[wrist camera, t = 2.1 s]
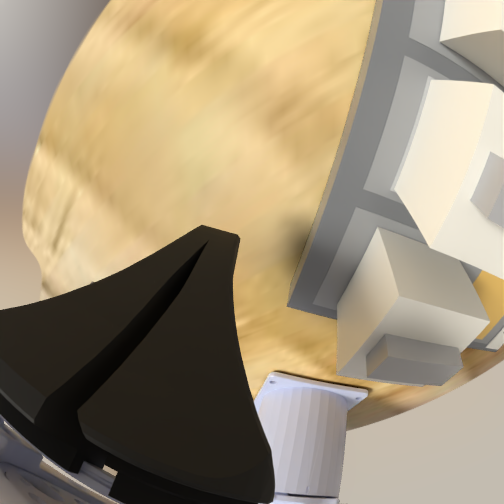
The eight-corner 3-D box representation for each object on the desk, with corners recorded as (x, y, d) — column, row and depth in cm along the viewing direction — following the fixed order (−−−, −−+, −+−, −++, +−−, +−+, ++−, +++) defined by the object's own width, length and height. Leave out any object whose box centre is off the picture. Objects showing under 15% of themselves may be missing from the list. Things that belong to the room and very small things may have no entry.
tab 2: (475, 226, 8) (528, 304, 4) (394, 189, 8) (440, 270, 4) (512, 136, 5) (591, 183, 2) (431, 79, 5) (516, 88, 2)
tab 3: (410, 322, 11) (424, 403, 7) (336, 304, 11) (335, 394, 8) (457, 257, 8) (498, 340, 5) (377, 226, 9) (405, 319, 5)
